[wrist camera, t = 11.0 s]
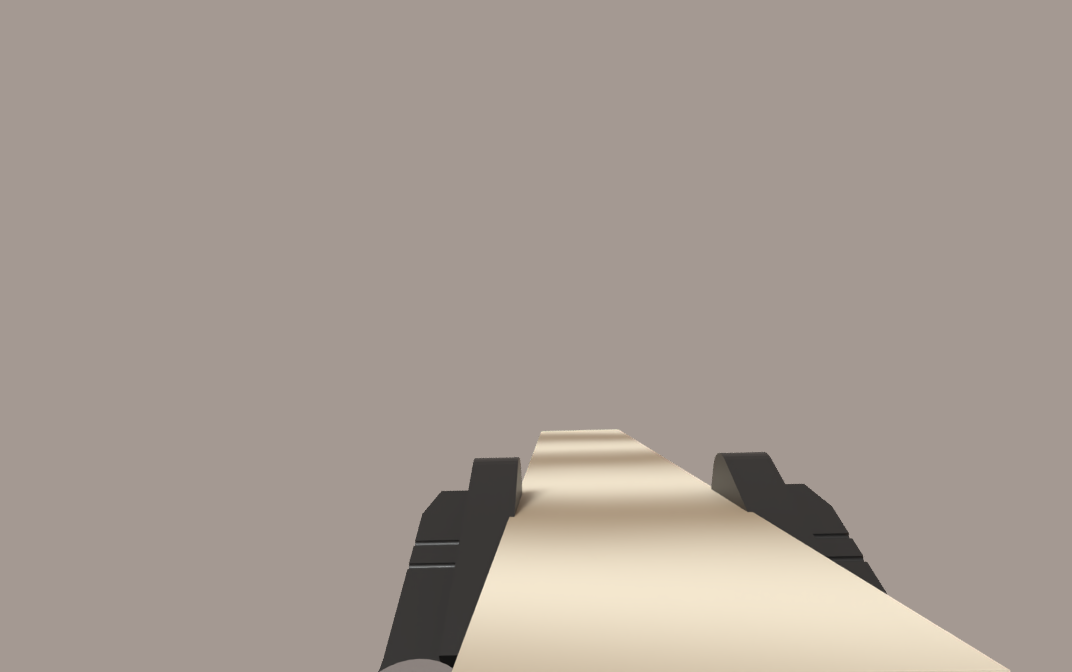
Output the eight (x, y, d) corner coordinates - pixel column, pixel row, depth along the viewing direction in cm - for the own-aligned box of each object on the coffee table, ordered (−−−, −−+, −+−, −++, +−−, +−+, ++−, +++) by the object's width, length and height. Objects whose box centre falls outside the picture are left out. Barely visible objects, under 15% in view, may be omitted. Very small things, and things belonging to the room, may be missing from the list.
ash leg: (1067, 1310, 3) (1010, 669, 3) (457, 1297, 3) (450, 676, 4) (614, 495, 28) (611, 425, 28) (544, 496, 28) (543, 426, 28)
